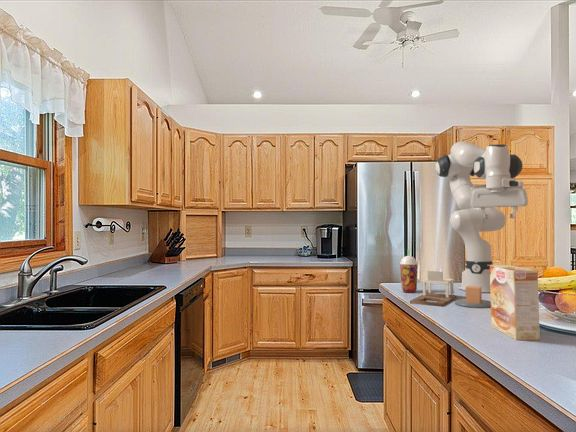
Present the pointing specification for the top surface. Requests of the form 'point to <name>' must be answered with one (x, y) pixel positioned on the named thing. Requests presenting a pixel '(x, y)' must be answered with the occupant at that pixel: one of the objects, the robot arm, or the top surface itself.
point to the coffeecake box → (515, 301)
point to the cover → (437, 278)
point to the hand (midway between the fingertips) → (499, 218)
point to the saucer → (473, 304)
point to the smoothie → (408, 274)
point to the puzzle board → (433, 299)
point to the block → (473, 294)
